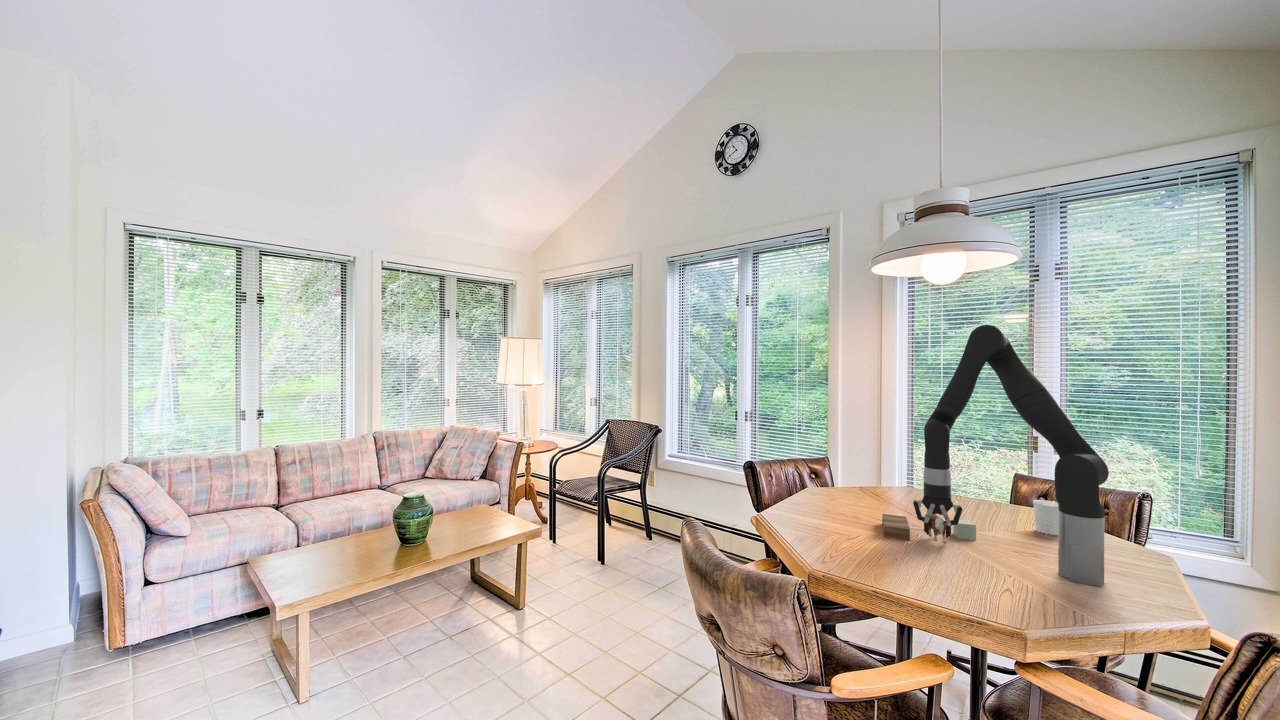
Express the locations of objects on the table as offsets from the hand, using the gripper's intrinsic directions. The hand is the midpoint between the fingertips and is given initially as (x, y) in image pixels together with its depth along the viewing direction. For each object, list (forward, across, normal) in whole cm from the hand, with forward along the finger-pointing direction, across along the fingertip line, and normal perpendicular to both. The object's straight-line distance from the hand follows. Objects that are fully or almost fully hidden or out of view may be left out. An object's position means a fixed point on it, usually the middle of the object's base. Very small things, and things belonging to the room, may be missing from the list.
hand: (937, 535), depth 158 cm
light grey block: (+3, +33, +32) cm, 46 cm away
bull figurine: (+2, 0, 0) cm, 2 cm away
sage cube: (+2, +8, +11) cm, 14 cm away
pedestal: (+3, -12, +4) cm, 13 cm away
